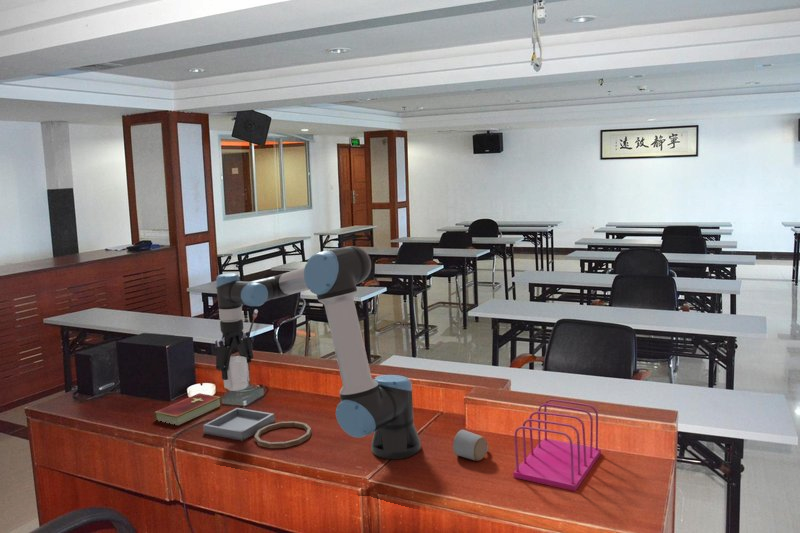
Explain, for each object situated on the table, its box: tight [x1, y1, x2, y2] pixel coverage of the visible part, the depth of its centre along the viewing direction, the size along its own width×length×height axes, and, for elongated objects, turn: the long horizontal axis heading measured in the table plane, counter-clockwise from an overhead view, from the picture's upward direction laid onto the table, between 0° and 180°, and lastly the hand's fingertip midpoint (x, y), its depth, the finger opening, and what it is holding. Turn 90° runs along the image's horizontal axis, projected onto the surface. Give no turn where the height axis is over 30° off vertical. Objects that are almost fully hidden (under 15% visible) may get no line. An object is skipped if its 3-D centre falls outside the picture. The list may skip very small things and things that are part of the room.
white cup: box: [224, 355, 248, 392], centre depth 225 cm, size 8×8×10 cm
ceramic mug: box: [452, 429, 489, 461], centre depth 196 cm, size 11×8×8 cm
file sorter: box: [513, 398, 602, 492], centre depth 187 cm, size 17×25×16 cm
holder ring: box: [253, 420, 312, 449], centre depth 218 cm, size 18×18×2 cm
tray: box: [202, 407, 276, 442], centre depth 228 cm, size 17×17×3 cm
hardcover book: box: [154, 392, 222, 426], centre depth 244 cm, size 12×21×4 cm, turn 149°
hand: (237, 384), depth 225 cm, fingers closed on white cup, 8 cm apart
